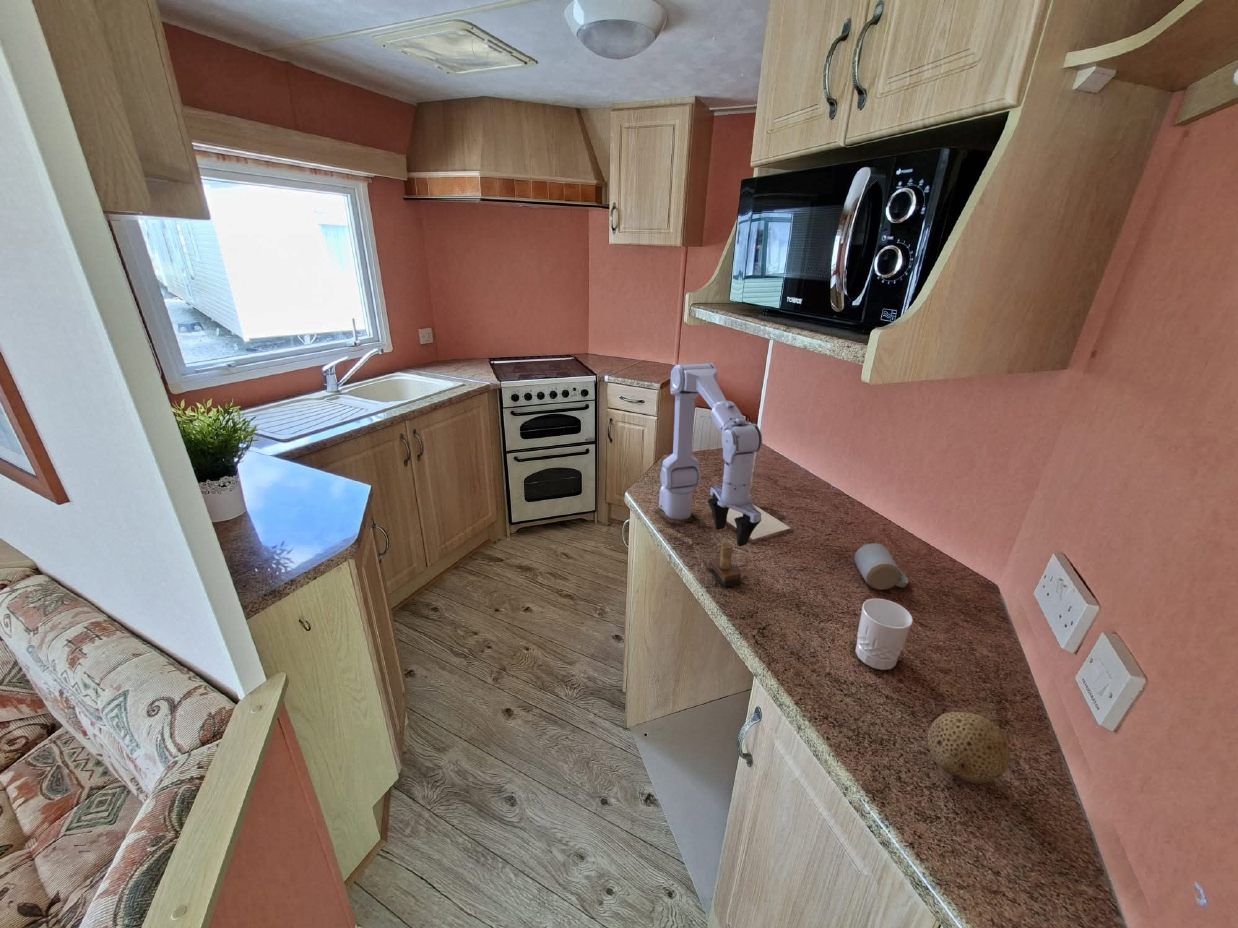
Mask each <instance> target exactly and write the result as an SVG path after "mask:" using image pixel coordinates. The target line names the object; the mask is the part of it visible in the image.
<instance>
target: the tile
mask: <svg viewBox="0 0 1238 928" xmlns="http://www.w3.org/2000/svg"><path fill="white" fill-rule="evenodd" d="M753 505H754V504H753ZM754 506H755V508H756V509H757V510H758V511H759V512H761V522H760V523H759V524H758V525H757V526H756V527H755V529H754V530H753V532H752V533H751V535H750V537H749V539H751V540H757V539H759V538H762V537H766V536H769V535H773V534H777V533H780V532H782V531H786V530H789V529H791V527H790V526H789V525H787V524H785V523H784V522H782V521H781V520H779V519H778V518H776V517H774V516H772V515H771V514H770V513H768V512H766V511H764V510H763V509H761V508H760V507H758V506H757V505H754ZM741 516H742V517H743V514H742V513H741V512H738V511H736V510H733V509H731V508H729V510H728V514H727V520H726V523H728V524H730V525H731V526H733V527H734V528H736V529H737V526H736V523H735V520H734V519H735V518H737V517H741Z"/></svg>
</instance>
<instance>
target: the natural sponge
mask: <svg viewBox="0 0 1238 928" xmlns="http://www.w3.org/2000/svg"><path fill="white" fill-rule="evenodd" d="M927 746H928V749H929V752H930V755H931V757H932V758H933V760H934V761H935V763H936V764H937V766H939V767H940V768H941V769H942V770H944V771H945V772H947V773H948V774H950V775H952V776H956V777H958V778H960V779H961V780H964V781H965V782H968V783H971V784H985V783H989V782H992V781H995V780H997V779H999V778H1000V777H1002V776H1003V775H1004V774H1005V773H1006V772H1007V771H1008V767H1009V764H1010V758H1011V753H1010V746H1009V744H1008V741H1007V739H1006V737H1005V735H1004V734H1003V733H1002V731H1001V730H1000V729H999V728H998V727H997V726H996V725H995V724H994V723H993V722H992V721H991V720H990V719H987V718H985V717H983V716H981V715H979V714H976V713H971V712H966V711H965V712H964V711H950V712H945V713H942V714H941V715H940V716H938V717H937V718H935V719H934V720H933V722H932V723H931V724H930V727H929V729H928V732H927Z"/></svg>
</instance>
